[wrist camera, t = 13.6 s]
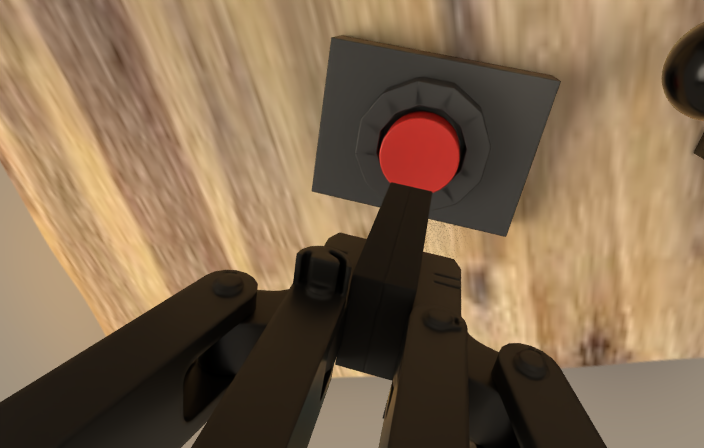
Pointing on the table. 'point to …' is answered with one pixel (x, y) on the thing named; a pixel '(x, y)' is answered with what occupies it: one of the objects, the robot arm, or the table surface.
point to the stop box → (444, 100)
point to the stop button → (420, 151)
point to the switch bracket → (700, 148)
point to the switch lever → (686, 74)
